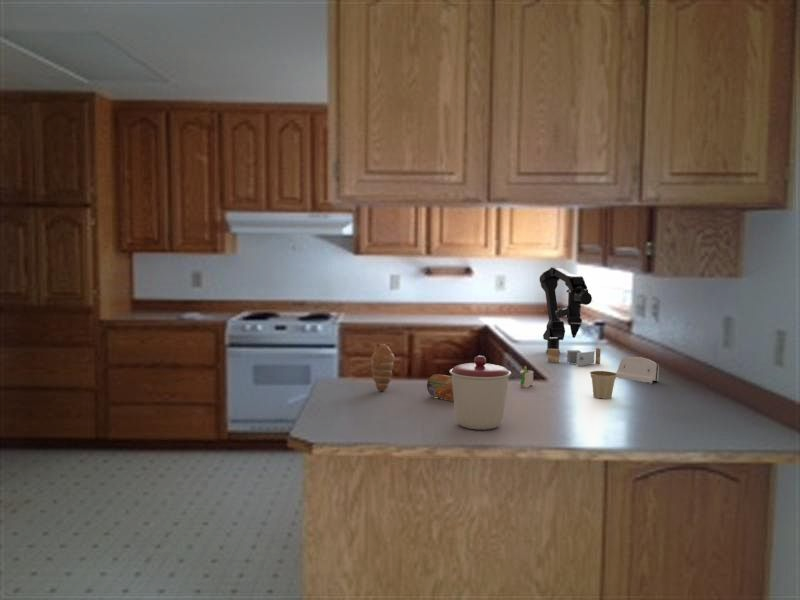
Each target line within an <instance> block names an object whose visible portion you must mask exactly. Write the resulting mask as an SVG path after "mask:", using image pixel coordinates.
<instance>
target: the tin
mask: <svg viewBox="0 0 800 600" xmlns="http://www.w3.org/2000/svg"><path fill="white" fill-rule="evenodd" d="M426 388H427V392H428V394H429V396H431V397H432V396H433V397H438V398H442V399H446V400H445V401H447V400H450V401H449V402H454V397H453V386H452V375H446V374H441V373H440V374H439V373H438V374H435V373H434V374H432V375H431V376H430V377H429V378H428V379H427V384H426ZM433 397H432V398H433ZM442 399H441V400H442Z"/></svg>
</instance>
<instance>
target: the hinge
mask: <svg viewBox="0 0 800 600" xmlns="http://www.w3.org/2000/svg"><path fill="white" fill-rule="evenodd" d="M659 370H660V366H659V364H658V363H656V362H655V361H653V360H651V359H649V358H646V357H640V356H626V357H623V358H621V359H620V363H619V365H618V368H617V371H616V372H615V373H617V376H616V377H619V378H618V379H622V378H623V380H628V379H630V380H629V381H634V380H636V381H635V382H640V381H643V382H642V383H646V382H651V383H650V384H653V382H654V381H659Z"/></svg>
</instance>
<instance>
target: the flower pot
mask: <svg viewBox="0 0 800 600" xmlns="http://www.w3.org/2000/svg"><path fill="white" fill-rule="evenodd" d="M589 374H590V378H591V384H592V392H593V394H592V396H593V397H594V398H596V399H604V400H608V399H609V398H610V399H611V398H612V396H613V392H614V385H615V381H616V379H617V378H616V376H617V373H616V372H613V371H608V370H592V371H589Z"/></svg>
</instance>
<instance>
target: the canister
mask: <svg viewBox="0 0 800 600" xmlns="http://www.w3.org/2000/svg"><path fill="white" fill-rule="evenodd" d="M473 361H474V362H469V363H467V362H466V363H461V364H457V365H455V366H453V368H451V369H449V370H448V371H449V374H450V375H451V376H452V386H453V397H454V401H453V404H454V413H455V419H456V421H457V424H458V425H459V426H460V427H463V428H464V429H465V428H466V429H469V430H475V431H477V430H478V431H487V430H493V429H496V428H498V427H499V426H500V425H501V423H502V421H503V417H504V411H505V405H506V398H507V391H508V384H509V383H508V382H509V377H510V376H511V375H512V372H511V370H508V369H507V368H506V367H504V366H502V365H498V364H493V363H487V358H486V357H485V356H484V355H477V356H475V357H474V359H473Z"/></svg>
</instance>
